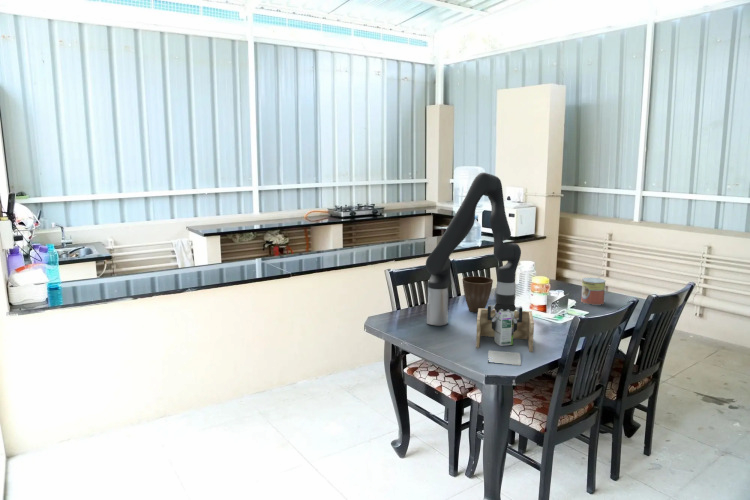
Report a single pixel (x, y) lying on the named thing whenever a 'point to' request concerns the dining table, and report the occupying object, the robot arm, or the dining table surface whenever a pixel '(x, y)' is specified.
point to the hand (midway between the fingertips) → (504, 330)
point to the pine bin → (522, 332)
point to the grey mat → (505, 357)
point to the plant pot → (477, 292)
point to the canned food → (593, 291)
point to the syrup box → (504, 328)
